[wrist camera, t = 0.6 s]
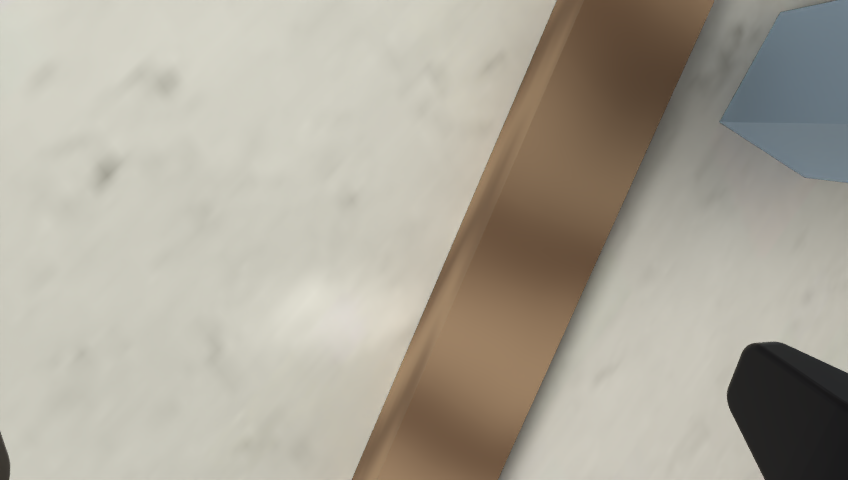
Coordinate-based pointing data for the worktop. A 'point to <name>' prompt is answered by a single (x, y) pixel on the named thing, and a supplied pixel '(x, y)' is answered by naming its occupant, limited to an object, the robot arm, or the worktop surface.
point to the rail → (531, 236)
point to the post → (799, 93)
